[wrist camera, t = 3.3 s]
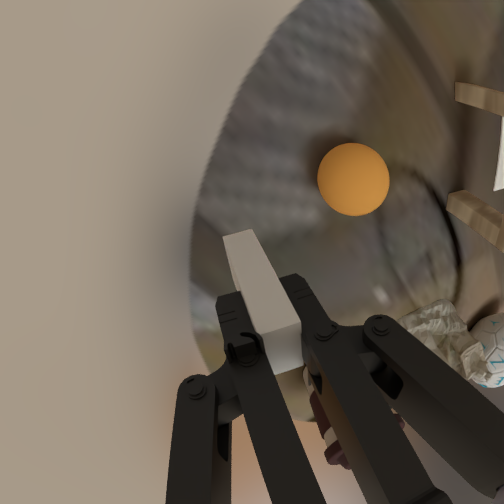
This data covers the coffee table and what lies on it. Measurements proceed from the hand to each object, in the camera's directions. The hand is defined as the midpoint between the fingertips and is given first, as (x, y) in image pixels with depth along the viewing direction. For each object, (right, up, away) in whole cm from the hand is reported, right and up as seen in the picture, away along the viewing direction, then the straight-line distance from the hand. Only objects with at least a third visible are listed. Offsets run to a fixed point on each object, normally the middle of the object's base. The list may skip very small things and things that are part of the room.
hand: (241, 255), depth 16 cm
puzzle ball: (+47, -15, +34) cm, 60 cm away
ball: (+8, +6, +6) cm, 11 cm away
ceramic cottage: (+27, -13, +27) cm, 40 cm away
